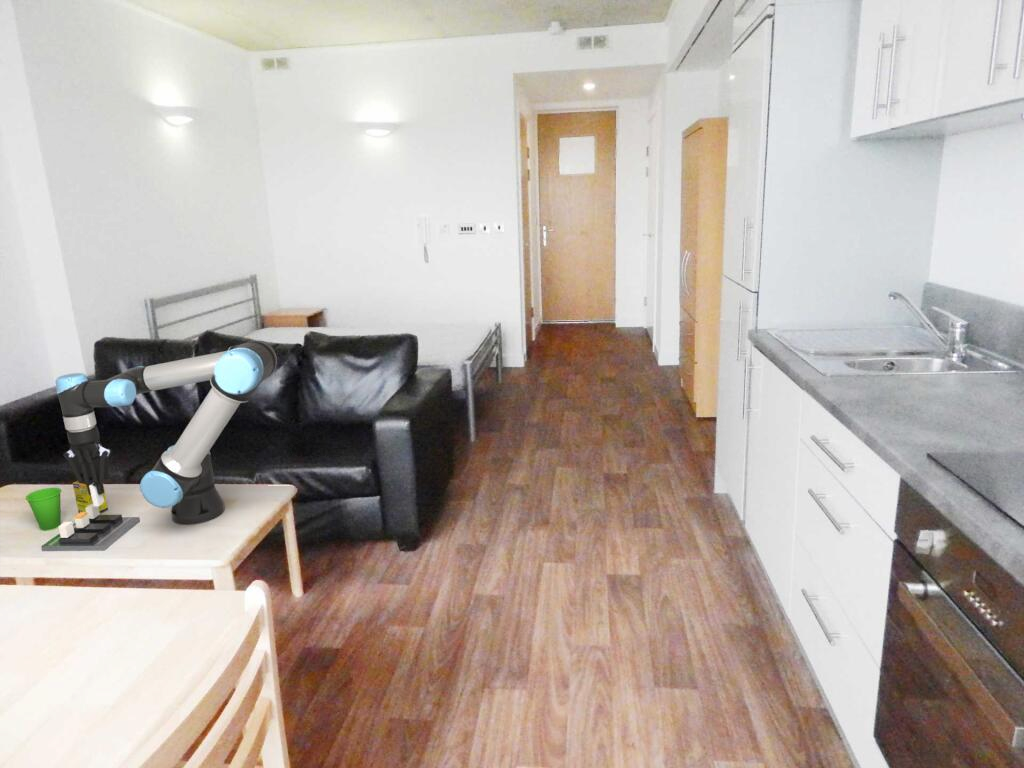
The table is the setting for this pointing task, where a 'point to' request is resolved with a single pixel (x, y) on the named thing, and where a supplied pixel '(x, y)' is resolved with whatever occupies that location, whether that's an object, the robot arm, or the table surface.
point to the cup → (46, 507)
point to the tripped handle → (81, 520)
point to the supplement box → (86, 498)
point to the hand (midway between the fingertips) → (99, 504)
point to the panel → (92, 546)
